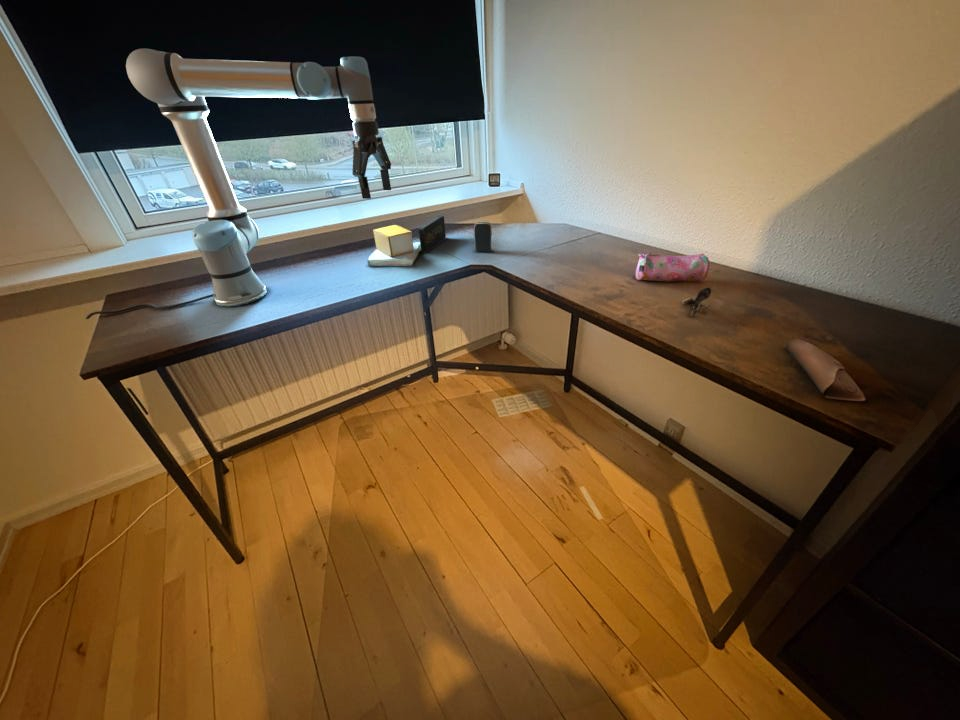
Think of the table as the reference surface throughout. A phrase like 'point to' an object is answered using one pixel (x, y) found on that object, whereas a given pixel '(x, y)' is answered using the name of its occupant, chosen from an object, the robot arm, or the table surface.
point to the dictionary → (393, 240)
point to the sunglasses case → (825, 372)
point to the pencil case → (672, 267)
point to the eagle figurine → (698, 301)
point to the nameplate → (432, 234)
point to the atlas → (394, 258)
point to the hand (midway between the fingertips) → (377, 194)
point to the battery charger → (483, 236)
